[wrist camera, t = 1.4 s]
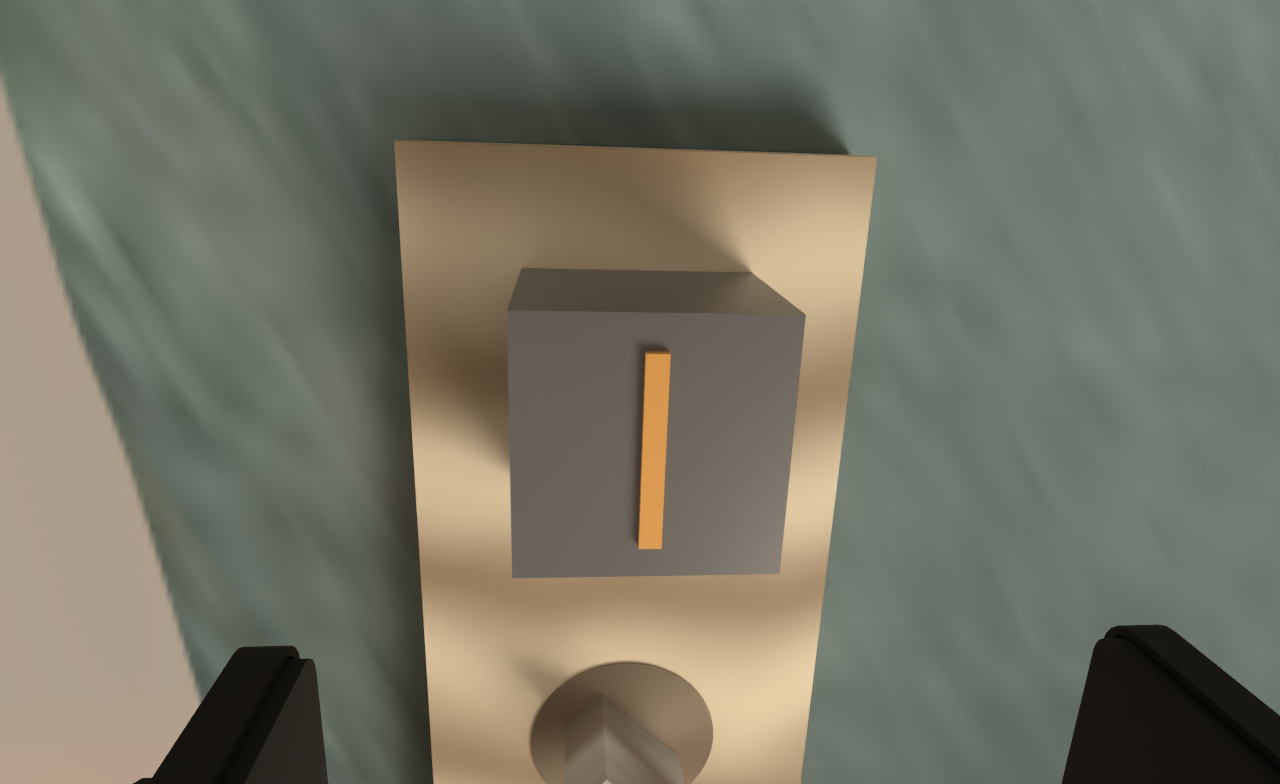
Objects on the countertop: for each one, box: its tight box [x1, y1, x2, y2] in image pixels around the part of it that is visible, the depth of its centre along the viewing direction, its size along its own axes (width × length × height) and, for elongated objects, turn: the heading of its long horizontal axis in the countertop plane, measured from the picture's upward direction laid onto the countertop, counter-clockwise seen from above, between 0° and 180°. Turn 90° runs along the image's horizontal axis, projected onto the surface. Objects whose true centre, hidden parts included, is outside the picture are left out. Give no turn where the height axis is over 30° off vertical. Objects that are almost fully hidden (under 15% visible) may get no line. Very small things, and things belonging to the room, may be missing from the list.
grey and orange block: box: [507, 268, 806, 578], centre depth 19 cm, size 6×6×5 cm
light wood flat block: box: [394, 140, 877, 784], centre depth 23 cm, size 24×12×6 cm, turn 178°
